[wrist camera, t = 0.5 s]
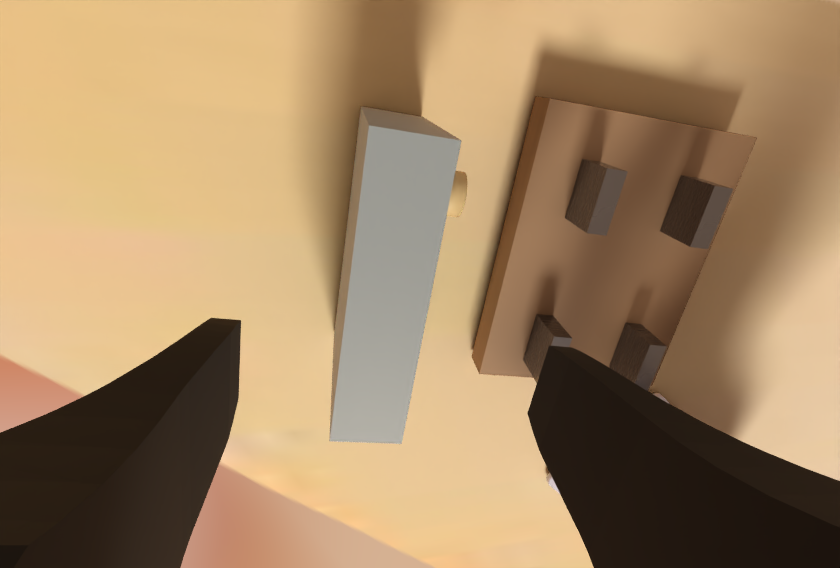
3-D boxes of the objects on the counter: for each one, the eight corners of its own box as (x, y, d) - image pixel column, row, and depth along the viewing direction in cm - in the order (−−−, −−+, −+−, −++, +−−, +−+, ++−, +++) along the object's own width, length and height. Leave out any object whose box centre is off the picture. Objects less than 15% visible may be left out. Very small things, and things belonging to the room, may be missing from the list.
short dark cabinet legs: (697, 177, 20) (733, 188, 18) (623, 367, 23) (647, 393, 21) (582, 158, 19) (607, 168, 17) (522, 360, 22) (538, 385, 20)
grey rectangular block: (442, 120, 19) (490, 145, 13) (402, 340, 23) (424, 444, 16) (360, 106, 18) (369, 125, 12) (334, 334, 22) (329, 441, 16)
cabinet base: (730, 133, 21) (757, 137, 19) (635, 368, 25) (652, 385, 24) (535, 96, 19) (550, 98, 18) (471, 356, 24) (479, 373, 22)
